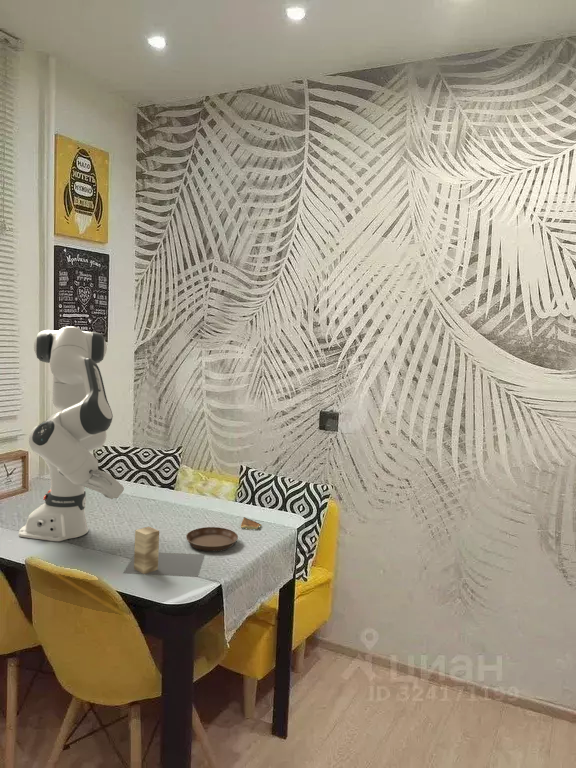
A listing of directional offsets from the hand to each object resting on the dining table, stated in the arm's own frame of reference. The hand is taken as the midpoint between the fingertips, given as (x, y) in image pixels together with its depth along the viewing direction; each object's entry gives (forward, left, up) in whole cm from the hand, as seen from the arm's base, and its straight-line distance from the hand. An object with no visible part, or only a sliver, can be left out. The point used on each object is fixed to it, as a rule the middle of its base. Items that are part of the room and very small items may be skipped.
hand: (111, 496), depth 172 cm
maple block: (+9, +6, -24) cm, 26 cm away
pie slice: (+37, +52, -26) cm, 69 cm away
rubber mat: (+14, +11, -25) cm, 31 cm away
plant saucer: (+26, +32, -25) cm, 49 cm away
